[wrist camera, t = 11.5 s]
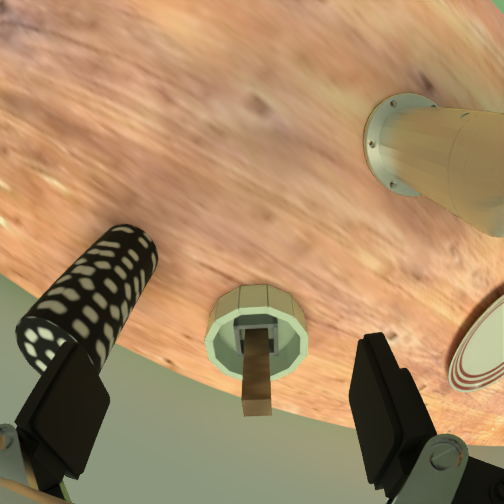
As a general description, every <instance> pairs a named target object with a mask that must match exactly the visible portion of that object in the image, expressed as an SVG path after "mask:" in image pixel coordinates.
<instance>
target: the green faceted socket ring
mask: <svg viewBox="0 0 504 504" xmlns="http://www.w3.org/2000/svg"><path fill="white" fill-rule="evenodd" d="M257 328H268V337H269V359H270V381H272V380H273V381H274V380H276V379H278V378H281V377H283V376H285V375H287V374H289V373H292V372H293V371H295V370H296V368H297V367H298V366H299V365H300V363H301V362H302V361H303V360H304V359H305V357H306V356H307V353H308V332H307V327H306V322H305V317H304V312H303V310H302V309H301V308H300V306H299V305H298V304H297V302H296V301H295V299H294V298H293V297H292V295H290V294H289V293H287V292H284V291H282V290H279V289H277V288H275V287H272V286H270V285H267V286H266V284H264V285H247V286H241V287H240V286H239V287H237V288H236V289H234V290H232V291H230V292H229V293H227V294H225V295H223V296H222V297H220V298H219V299H218V301H217V303H216V305H215V306H214V308H213V310H212V312H211V314H210V316H209V321H208V326H207V330H206V335H205V345H206V350H207V354H208V359H209V360H210V361H211V362H212V363H213V364H214V365H215V366H216V367H217V368H218V369H219V370H220V371H221V372H222V373H223V374H225V375H227V376H230V377H233V378H236V379H239V380H242V379H243V359H244V338H245V329H257Z"/></svg>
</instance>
